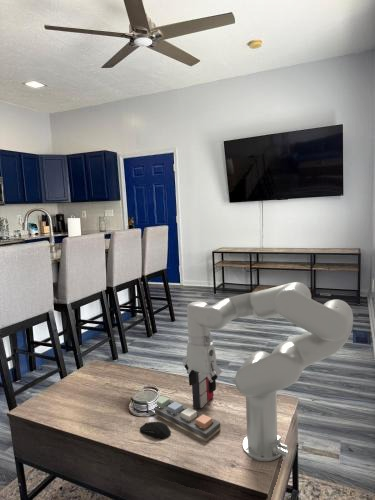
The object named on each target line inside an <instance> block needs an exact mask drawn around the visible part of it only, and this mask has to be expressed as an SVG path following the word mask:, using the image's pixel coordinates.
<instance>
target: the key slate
mask: <svg viewBox="0 0 375 500" xmlns="http://www.w3.org/2000/svg"><path fill="white" fill-rule="evenodd" d="M183 406H184V405H183V404H181V403H179V402H177V401H174V402H173V403H172V404H170V405H168V406H167V407H168V412H171V413H173V414H175V415H176V414H177V413H179V412H181V411H182V410H183Z"/></svg>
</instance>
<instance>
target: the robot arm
mask: <svg viewBox="0 0 375 500" xmlns="http://www.w3.org/2000/svg"><path fill="white" fill-rule="evenodd" d="M251 316H255V317H256V318H258V319H260V320H265V319H271V318H274V317H279V316H281V317H282V318H283V319H284V320H287V322H290V323H292V324H293V325H295V326H297V327H299V328H301V329H303V330H305V331H306V332H304V333H303V334H300V335H298V336H295V337H293V338H291V339H288V340H285V341H283V342H281V343H279V344H278V345H276V347H275V348H274V349H273V351H272V352H271V353H269V352H268V351H265V350H257V351H255V352H253V353H251V354H250V355H249V356H248V357H247V358H246V360H244V362H243V364H241V365H240V367H239V368H238V370H237V371H236V374H235V376H234V384H235V387H236V389H237V391H238V392H239V393H241V395H243V396H244V397H245V408H246V409H245V410H246V411H245V413H246V414H245V415H246V418H245V419H246V437H244V438H243V441H242V449H243V452H244V453H245V454H246V455H247V456H249V457H251V459H252V460H255V461H259V462H272V461H275V460H276V459H279V458H280V457H281V456H282V457H285V458H288V456H289V455H290V453H289V450H288V449H289V446H288V445H287V444H285V443H282V442H281V441H282V440H281V436H280V435H278V416H277V415H278V411H277V409H278V407H277V405H278V403H277V399H278V398H277V397H278V396H277V392H279V391H281V390H284V389H286V388H289V387H290V386H292V385H294V384H295V383H296V382H297V381H298V380H299V379H300V377H301V375H302V373H303V371H304V370H305V369H306V368H307V367H309V366H312V365H314V364H315V363H316V364H317V363H319V362H320V361H323V360H325V359H327V358H329V357H331V356H333V355H334V354H336V353H337V352H339V351H340V350H341V348H343V346H344V345H346V343H347V341H348V339H349V337H350V335H351V333H352V330H353V326H354V314H353V310H352V308H351V306H350V305H349V304H348V303H347V302H346V301H344V300H341V299H331V300H328V301H326V302H325V303H323V304H322V303H321V302H318V301H316V300H314V299H313V298H312V293H311V291H310V288H309V287H308V286H307V285H306V284H305V283H303V282H298V281H295V282H288V283H285V284H281V285H277V286H274V287H271V288H265V289H261V290H258V291H252V292H248V293H242V294H238V295H233V296H229V297H226V298H223V299H221V300H219V301H218V302H216V303H214V304H212V305H210V306H209V304H208V303H207V302H205V301H192V302H190V303H188V304H187V306H186V318H187V319H186V320H187V333H188V335H187V336H188V337H187V338H188V341H187V345H186V357H184V358H183V359H182V361H181V362H182V363H183V366H184V368H185V370H186V373H187V375H188V384H189V386H191V387H192V385H193V384H195V383H196V372H195V371H197V372H200V373H203V374H206V375H207V377H208V379H209V382H208V390H209V393H212V392H213V393H214V392H215V391H216V390H217V382H216V381H217V379H218V378H220V376H221V374H222V372H223V369H221V368H220V367H219V366H218V364H217V356H216V355H217V354H216V349H215V345H214V343H213V340H214V338H212V336H211V330H221V329H223V328H224V327H225V326H226V325H228V324H229V323H230V322H231V321H233V320H235V319H239V318H244V317H251ZM210 373H211V374H212V376H213V377H211V375H210Z"/></svg>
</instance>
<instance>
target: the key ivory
mask: <svg viewBox="0 0 375 500" xmlns="http://www.w3.org/2000/svg"><path fill="white" fill-rule="evenodd" d="M197 412H198V411H197V410H195V409H193V408H190V407H187V409H186V410H184V411H183V412H181V418H183V419H185V420H187V421H189V422H190V421H191V420H193V419H194V418H196V417H197Z"/></svg>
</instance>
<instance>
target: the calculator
mask: <svg viewBox="0 0 375 500" xmlns="http://www.w3.org/2000/svg"><path fill="white" fill-rule="evenodd" d="M195 372H196V383H195V384H193V385H191V391H192V407H193V408H194V409H198V410H201V409H202V408H203V407H204V406H206V404H208V402H209V401H211V399H212V398H214V391H213V392H212V393H209V390H208V382H209V379H208V377H207V375H206V374H203V373H200V372H197V371H195ZM210 375H211V377H213V376H212V374H211V373H210Z"/></svg>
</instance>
